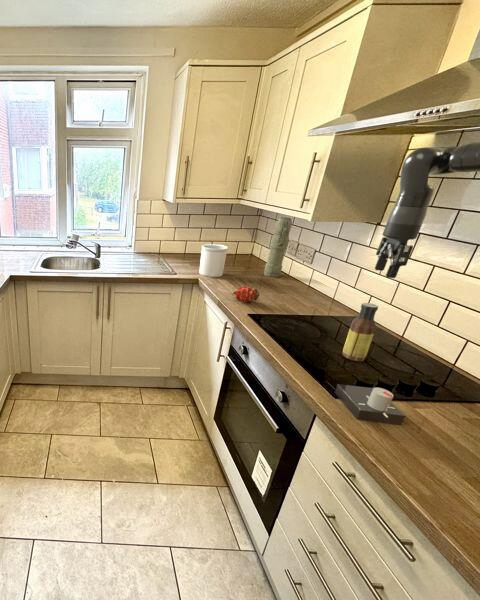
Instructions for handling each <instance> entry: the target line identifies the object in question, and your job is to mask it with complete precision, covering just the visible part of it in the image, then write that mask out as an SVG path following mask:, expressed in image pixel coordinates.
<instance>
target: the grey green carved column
mask: <svg viewBox="0 0 480 600" xmlns="http://www.w3.org/2000/svg"><path fill="white" fill-rule="evenodd" d="M292 225H293V219H292V218H291V217H284V216H282V217H279V218H278V220H277V222H276V225H275V228H274V229H275V230H274V231H275V232H274V233H273V236H272V237H271V241H270V246H269V248H270V249H269V253H268V257H267V262H266V263H265V265H264V272H263V276H265V277H267V278H273V279H274V278H275V279H276V278H277V279H278V278H280V276H281V273H282V269H283V261H284V259H285V254H286V250H287V249H288V245H289V242H290V232H291V230H292Z"/></svg>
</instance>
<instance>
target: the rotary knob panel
mask: <svg viewBox="0 0 480 600" xmlns="http://www.w3.org/2000/svg"><path fill="white" fill-rule="evenodd" d="M373 388H374V387H368V386H367V387H366V386H357V385H349V384H340V383H337V385H336V386H335V390H334V394H335V395H336V396H337V398H338V399H339V400H340V401H341V402H342V404H343V405H344V406H345V407H346V409H348V411H349V412H350V413H351V414H352V415H353V417H354V418H355V419H356V420H360V421H369V422H375V423H384V424H391V425H397V426H402V425H403V422H404V421H405V419H406V414H405V413H403V412H402V411H401V410H400V409H399V408H398V407H397V406H396V405H395V404H394V403H393V402H392V401H391V403H390V405H389V407H388V409H387V411H384V412H383V411H378V410H375V409H373V408H371V407H370V406H369V405H368V404H367V401H368V399H369V396H370V394H371V392H372V390H373Z"/></svg>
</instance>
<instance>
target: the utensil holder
mask: <svg viewBox="0 0 480 600" xmlns="http://www.w3.org/2000/svg"><path fill="white" fill-rule="evenodd" d="M228 250H229V247H228V246H226V245H224V244H218V243H205V244H202V245H201V253H200V261H199V272H198V273H199V275H201V276H203V277H210V278H219V277H222V276H223V274H224V269H225V265H226V264H225V263H226V258H227V253H228Z"/></svg>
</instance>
